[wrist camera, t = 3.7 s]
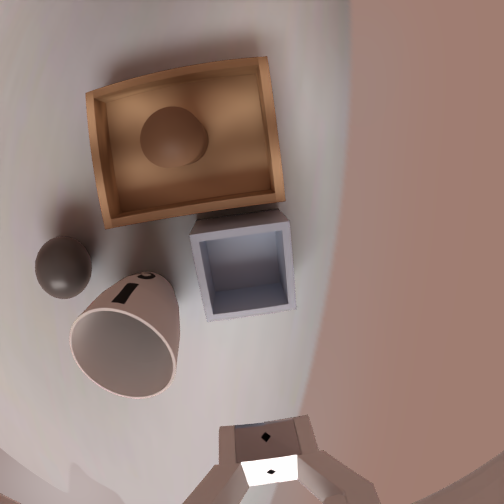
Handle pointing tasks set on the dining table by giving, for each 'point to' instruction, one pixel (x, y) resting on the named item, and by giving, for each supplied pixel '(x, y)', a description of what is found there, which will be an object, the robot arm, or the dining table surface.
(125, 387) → the cup
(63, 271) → the dark gray ball
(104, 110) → the oak tray
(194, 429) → the dining table surface
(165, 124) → the walnut peg
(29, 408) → the dining table surface
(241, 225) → the pen pot
